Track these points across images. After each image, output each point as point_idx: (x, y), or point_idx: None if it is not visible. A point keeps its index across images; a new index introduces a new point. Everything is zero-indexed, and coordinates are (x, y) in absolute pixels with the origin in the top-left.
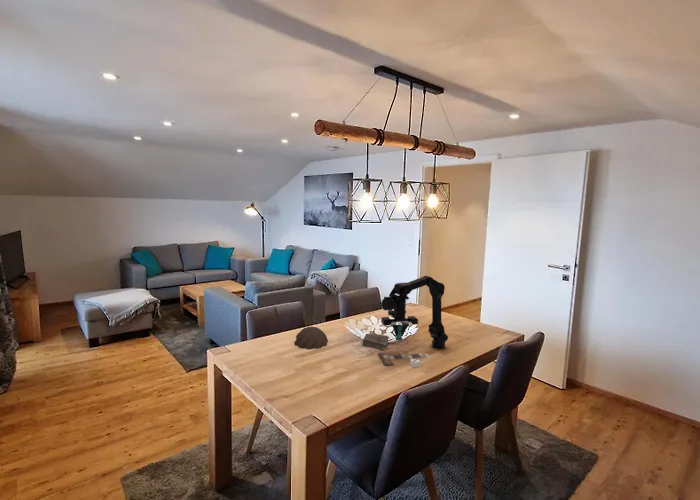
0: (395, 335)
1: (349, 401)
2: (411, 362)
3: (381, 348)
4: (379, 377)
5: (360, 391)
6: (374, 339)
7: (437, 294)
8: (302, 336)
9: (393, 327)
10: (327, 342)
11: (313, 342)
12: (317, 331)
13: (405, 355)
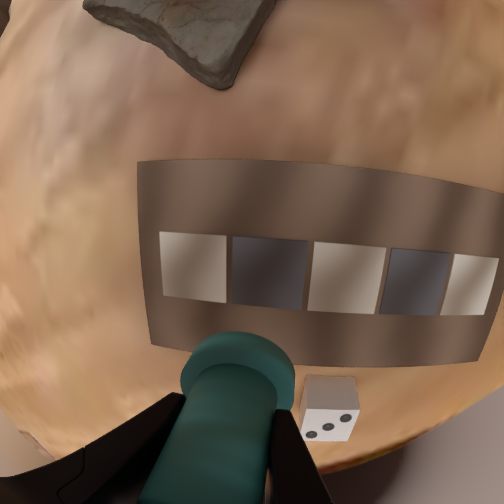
0: (166, 396)
1: (68, 444)
2: (302, 418)
3: (191, 69)
4: (124, 408)
5: (80, 433)
6: None
7: None
8: None
9: (49, 490)
10: (4, 28)
11: None
12: None
13: (342, 262)
